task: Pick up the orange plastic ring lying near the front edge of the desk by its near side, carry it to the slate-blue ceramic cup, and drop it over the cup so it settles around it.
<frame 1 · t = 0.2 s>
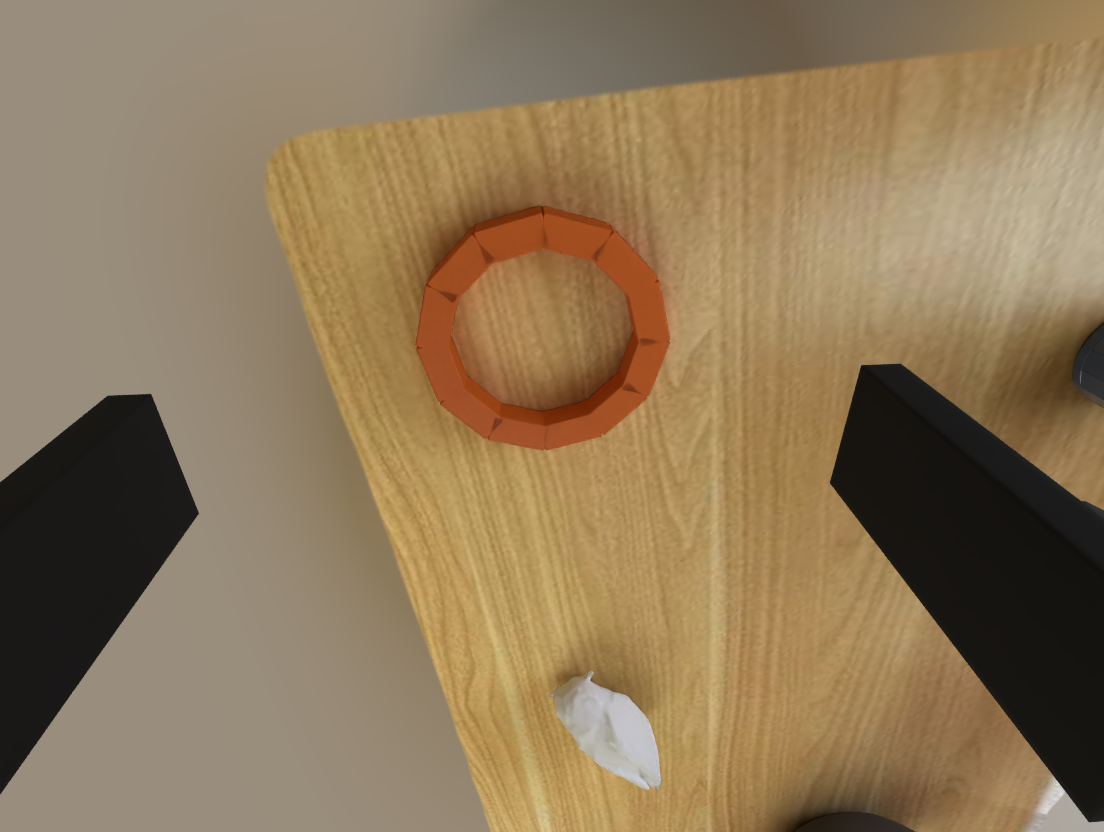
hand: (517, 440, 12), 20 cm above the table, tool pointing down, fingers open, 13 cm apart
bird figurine: (600, 697, 47), on the table
ring: (542, 332, 31), on the table
planter: (830, 827, 60), on the table
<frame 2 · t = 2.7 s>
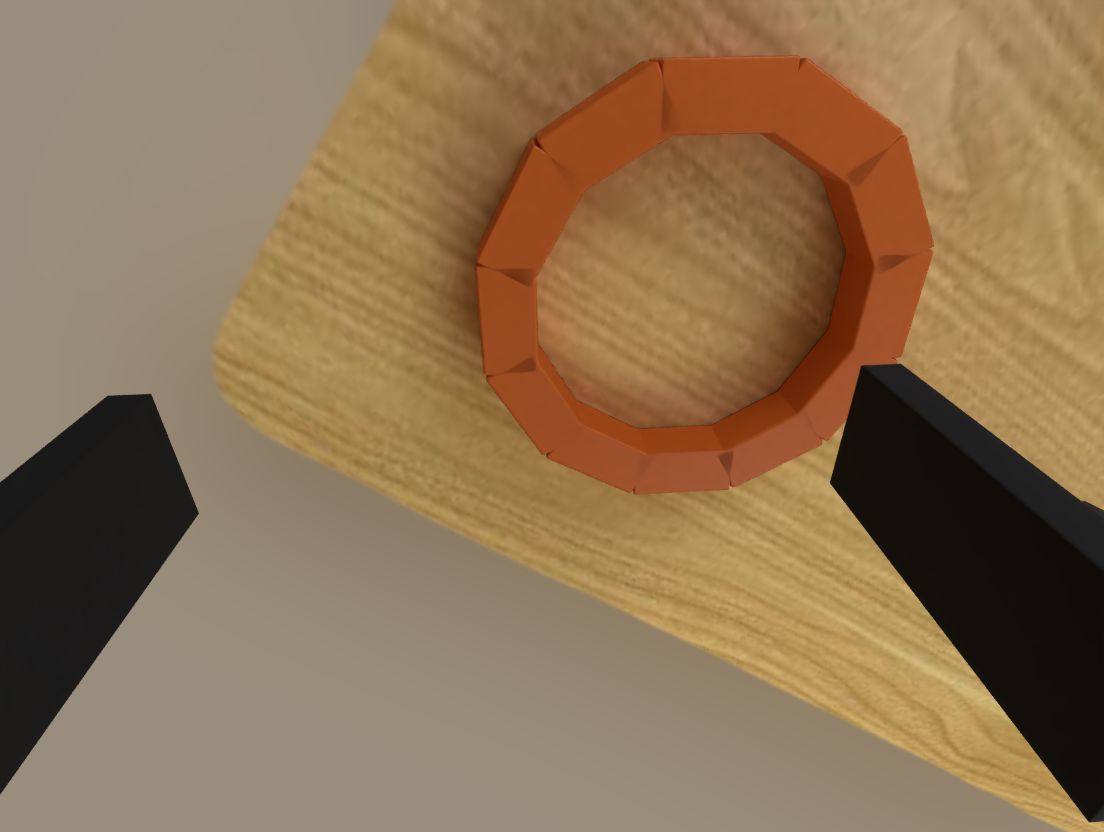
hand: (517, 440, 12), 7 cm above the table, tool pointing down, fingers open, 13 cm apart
ring: (687, 296, 18), on the table
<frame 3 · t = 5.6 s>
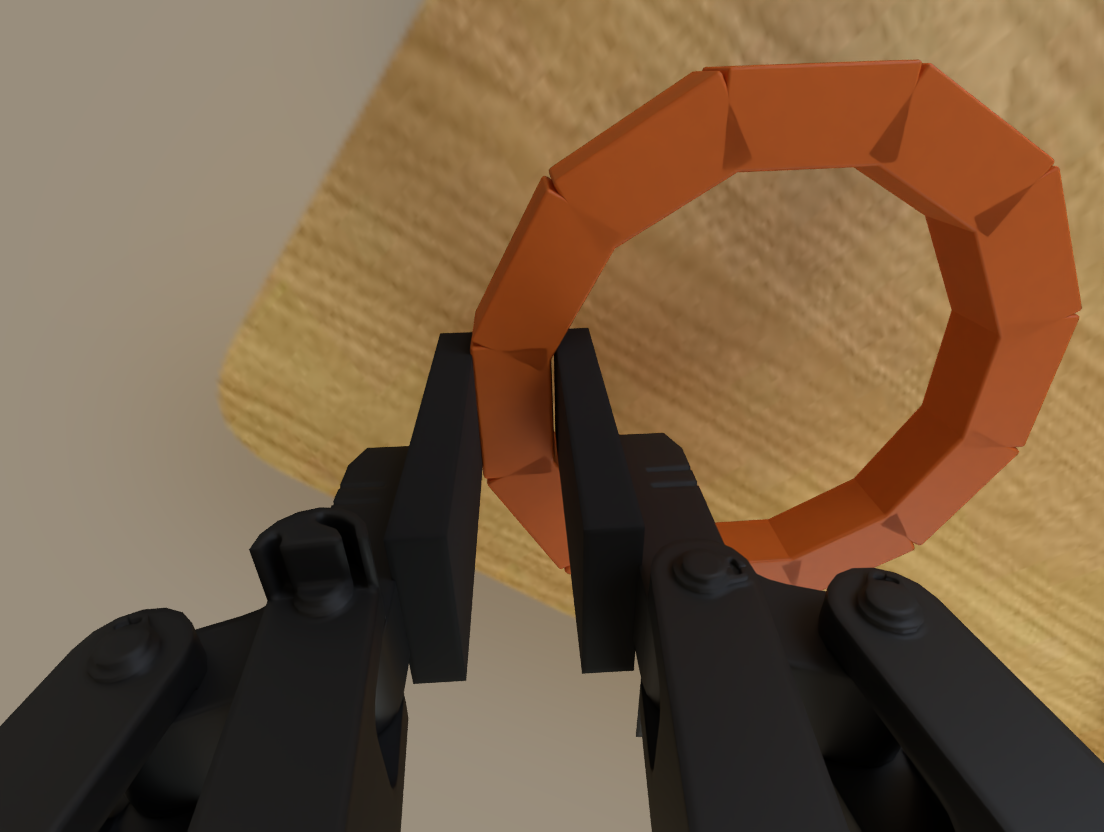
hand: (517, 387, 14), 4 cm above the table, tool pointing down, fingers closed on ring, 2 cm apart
ring: (744, 369, 14), point 3 cm above the table, touching gripper
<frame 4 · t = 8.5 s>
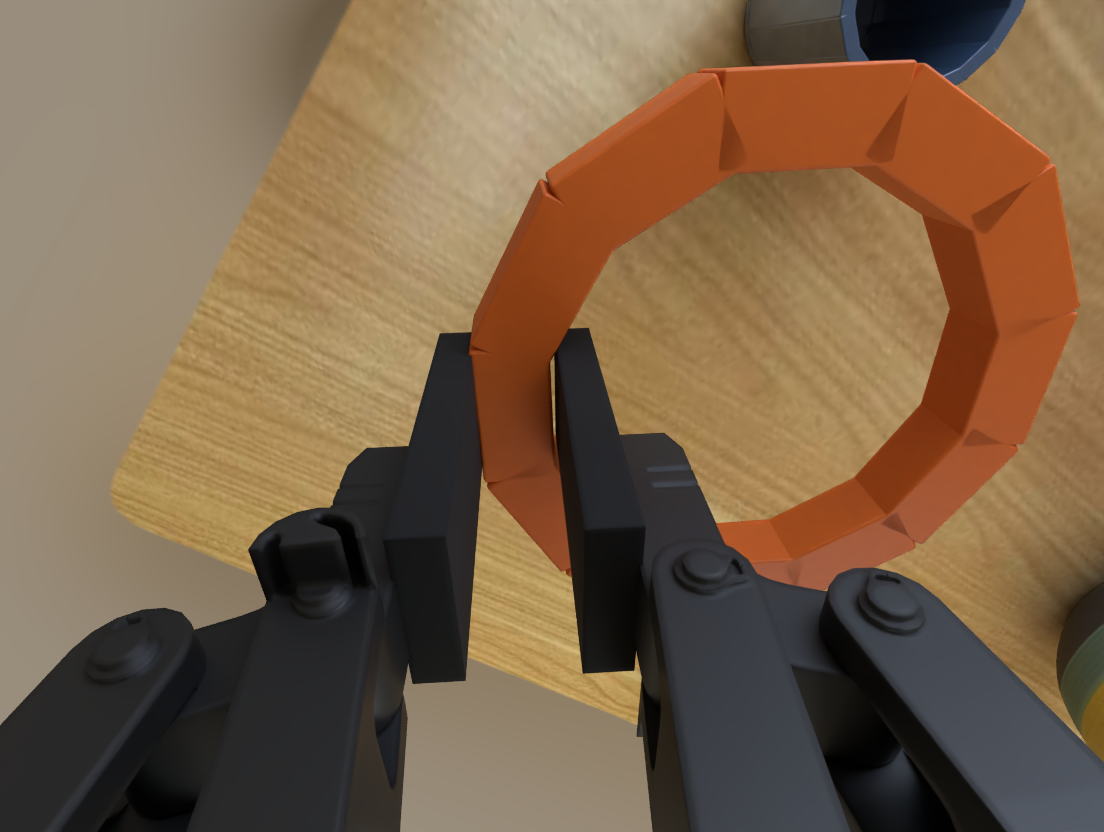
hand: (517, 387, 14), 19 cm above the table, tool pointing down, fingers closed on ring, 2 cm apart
ring: (743, 369, 14), point 19 cm above the table, touching gripper
cup: (811, 13, 26), on the table
when the fingers open (11 cm above the table, at t = 11.7 s): ring drops 11 cm, on the table.
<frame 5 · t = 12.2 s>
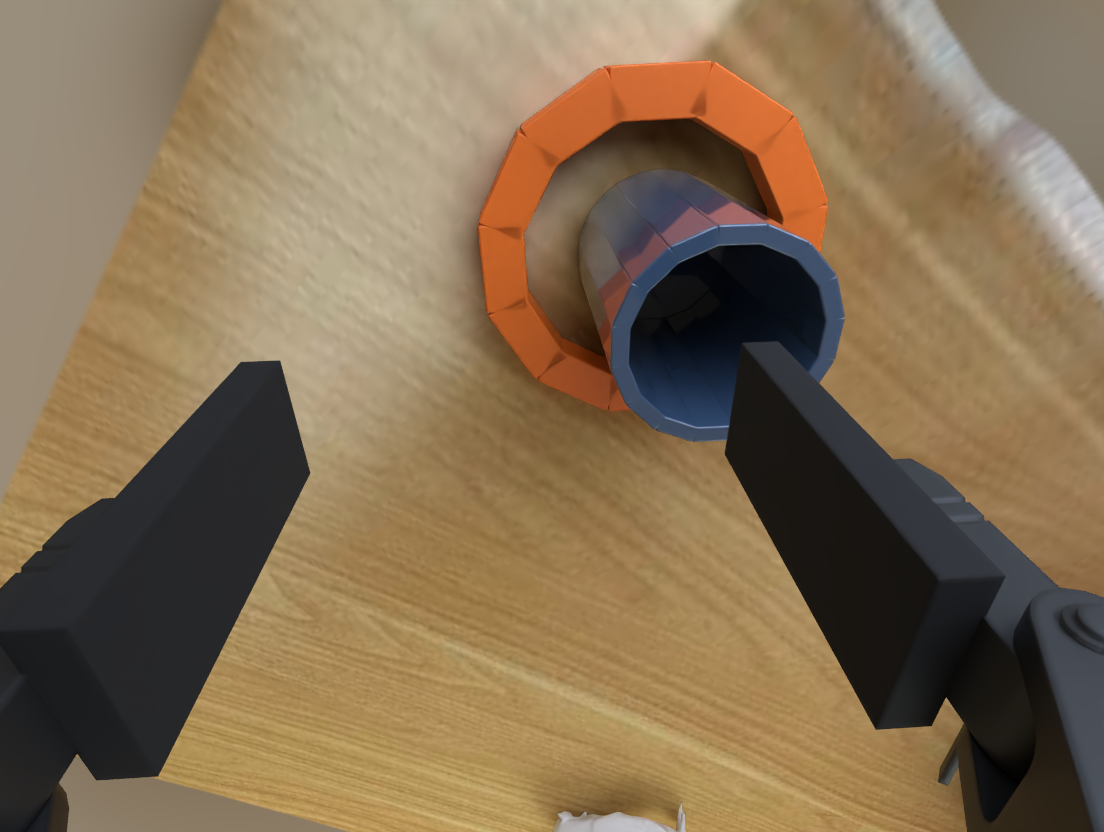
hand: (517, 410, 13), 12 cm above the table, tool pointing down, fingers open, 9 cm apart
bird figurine: (615, 810, 44), on the table
ring: (644, 249, 23), on the table
cup: (655, 251, 23), on the table
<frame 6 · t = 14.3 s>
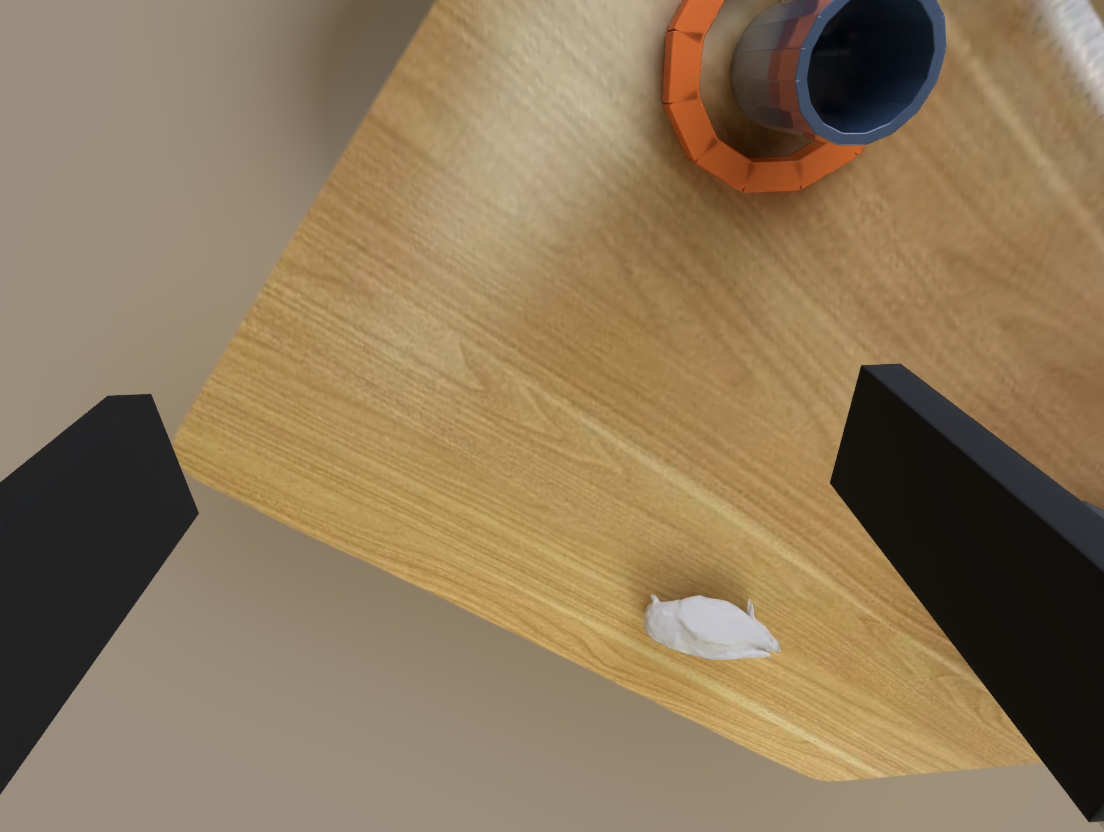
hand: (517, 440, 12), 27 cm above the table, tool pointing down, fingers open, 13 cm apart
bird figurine: (693, 605, 53), on the table
ring: (779, 64, 32), on the table
cup: (786, 66, 32), on the table
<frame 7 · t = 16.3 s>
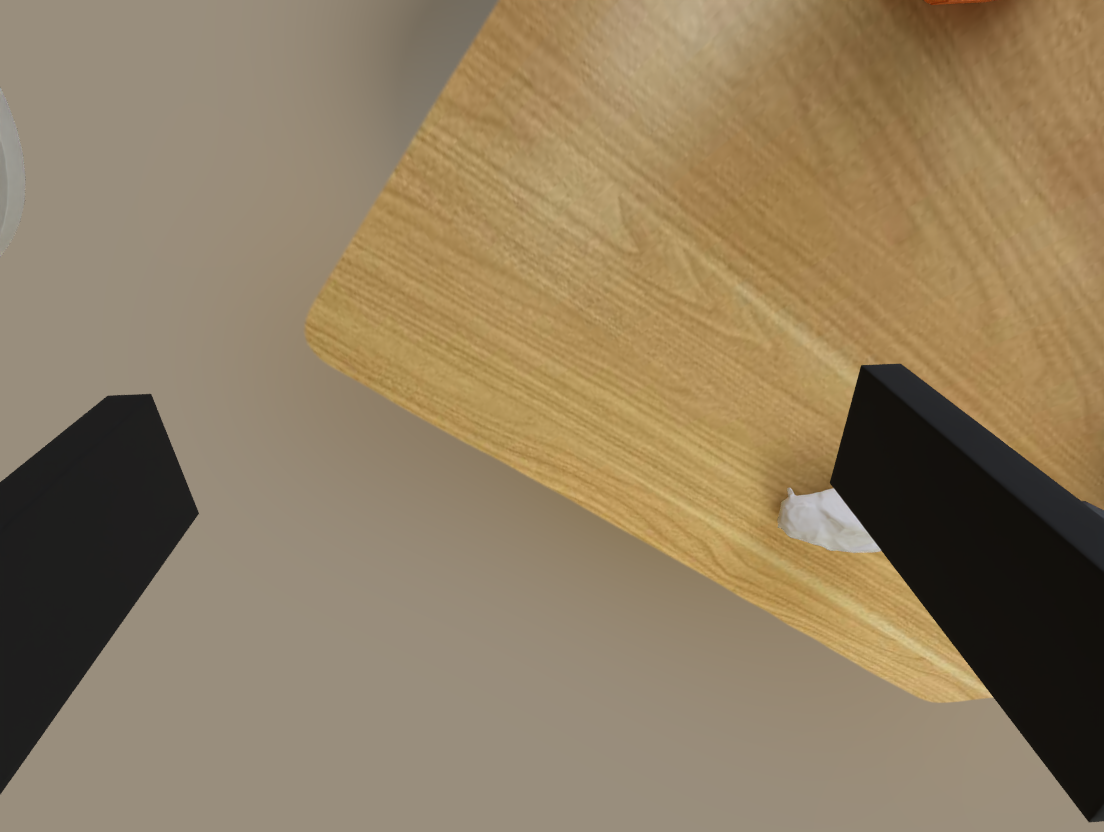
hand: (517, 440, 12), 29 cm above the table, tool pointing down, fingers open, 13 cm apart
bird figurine: (825, 503, 51), on the table
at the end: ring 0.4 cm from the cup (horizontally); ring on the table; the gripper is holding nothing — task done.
